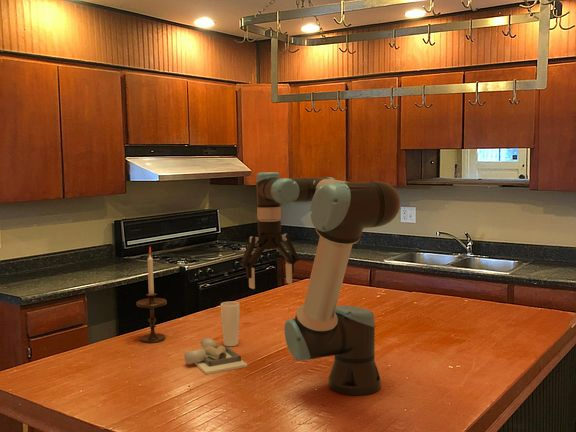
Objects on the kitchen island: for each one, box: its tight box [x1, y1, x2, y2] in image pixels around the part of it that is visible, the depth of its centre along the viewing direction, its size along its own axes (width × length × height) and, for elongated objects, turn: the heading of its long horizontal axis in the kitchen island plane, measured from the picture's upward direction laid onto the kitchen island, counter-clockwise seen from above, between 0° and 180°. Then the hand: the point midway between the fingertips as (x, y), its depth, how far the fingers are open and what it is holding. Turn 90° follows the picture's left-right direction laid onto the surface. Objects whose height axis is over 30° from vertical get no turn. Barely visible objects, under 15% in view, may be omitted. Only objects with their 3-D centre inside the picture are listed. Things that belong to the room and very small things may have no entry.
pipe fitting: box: [204, 345, 227, 360], centre depth 199 cm, size 8×4×7 cm
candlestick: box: [136, 245, 168, 344], centre depth 222 cm, size 11×11×35 cm
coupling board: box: [183, 336, 248, 375], centre depth 199 cm, size 22×17×5 cm
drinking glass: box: [220, 301, 241, 347], centre depth 216 cm, size 7×7×15 cm
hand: (270, 285), depth 195 cm, fingers open, 13 cm apart
